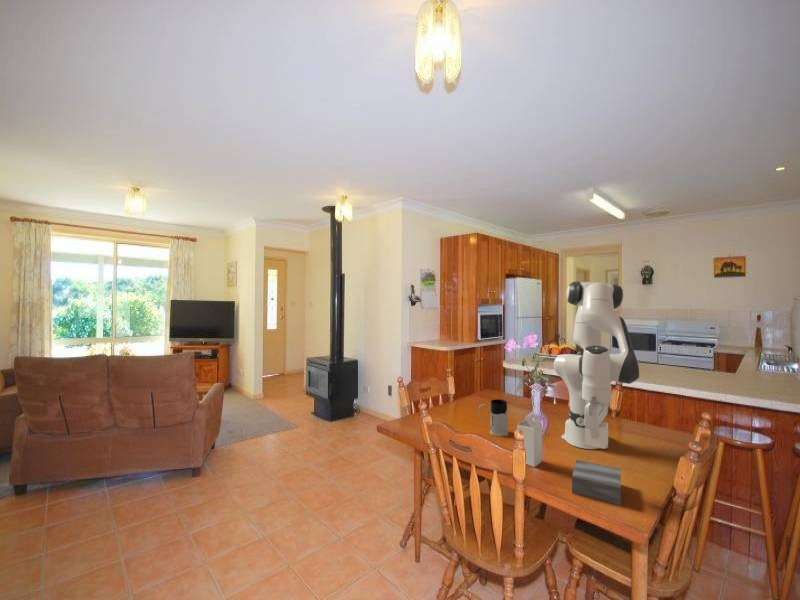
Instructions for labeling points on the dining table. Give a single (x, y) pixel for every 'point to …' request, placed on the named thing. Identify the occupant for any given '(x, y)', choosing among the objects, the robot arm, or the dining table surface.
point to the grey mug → (498, 418)
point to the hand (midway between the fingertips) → (596, 434)
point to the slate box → (597, 482)
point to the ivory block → (602, 436)
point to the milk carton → (532, 439)
